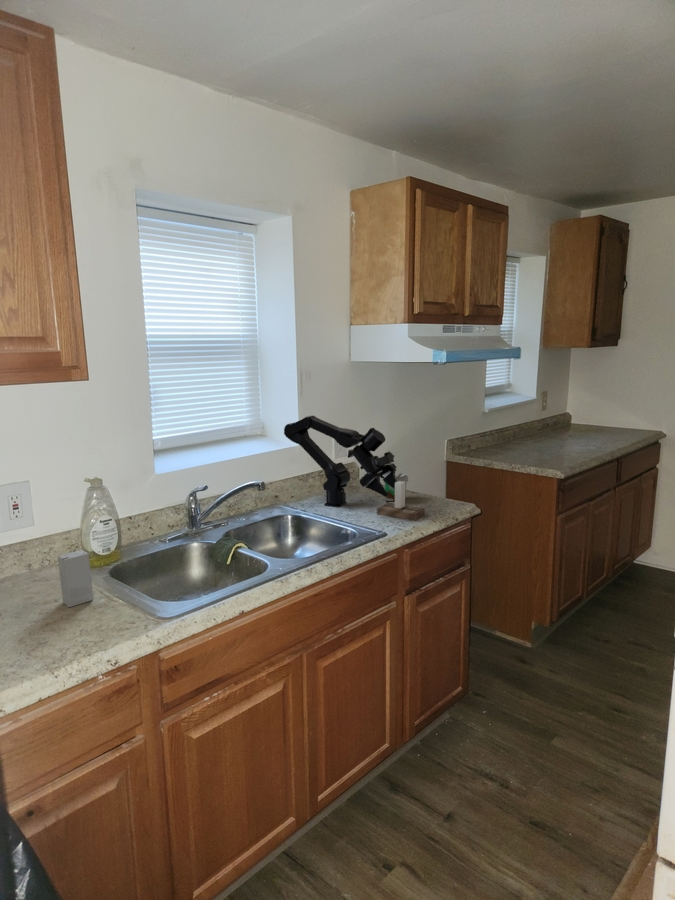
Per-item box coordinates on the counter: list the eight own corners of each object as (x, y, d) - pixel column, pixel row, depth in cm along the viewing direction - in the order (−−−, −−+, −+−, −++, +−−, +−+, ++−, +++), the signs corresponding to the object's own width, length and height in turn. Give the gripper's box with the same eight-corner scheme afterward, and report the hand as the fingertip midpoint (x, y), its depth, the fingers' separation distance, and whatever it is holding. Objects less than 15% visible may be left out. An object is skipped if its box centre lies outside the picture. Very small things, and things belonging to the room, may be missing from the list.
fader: (394, 507, 210) (394, 482, 209) (398, 505, 213) (399, 480, 212) (400, 508, 209) (400, 483, 207) (405, 506, 212) (405, 481, 210)
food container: (397, 505, 223) (397, 479, 221) (383, 503, 227) (383, 477, 225) (414, 498, 233) (414, 473, 231) (400, 496, 237) (400, 471, 235)
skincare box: (87, 595, 147) (83, 548, 145) (94, 600, 144) (90, 553, 141) (61, 602, 143) (56, 554, 141) (68, 608, 140) (63, 559, 137)
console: (376, 514, 212) (376, 507, 212) (387, 509, 219) (387, 502, 218) (415, 520, 204) (415, 513, 204) (424, 515, 211) (425, 508, 210)
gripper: (367, 449, 204) (396, 485, 200) (392, 441, 219) (419, 474, 215) (347, 469, 209) (375, 504, 205) (373, 460, 225) (399, 492, 221)
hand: (393, 493), depth 212 cm, fingers open, 9 cm apart
